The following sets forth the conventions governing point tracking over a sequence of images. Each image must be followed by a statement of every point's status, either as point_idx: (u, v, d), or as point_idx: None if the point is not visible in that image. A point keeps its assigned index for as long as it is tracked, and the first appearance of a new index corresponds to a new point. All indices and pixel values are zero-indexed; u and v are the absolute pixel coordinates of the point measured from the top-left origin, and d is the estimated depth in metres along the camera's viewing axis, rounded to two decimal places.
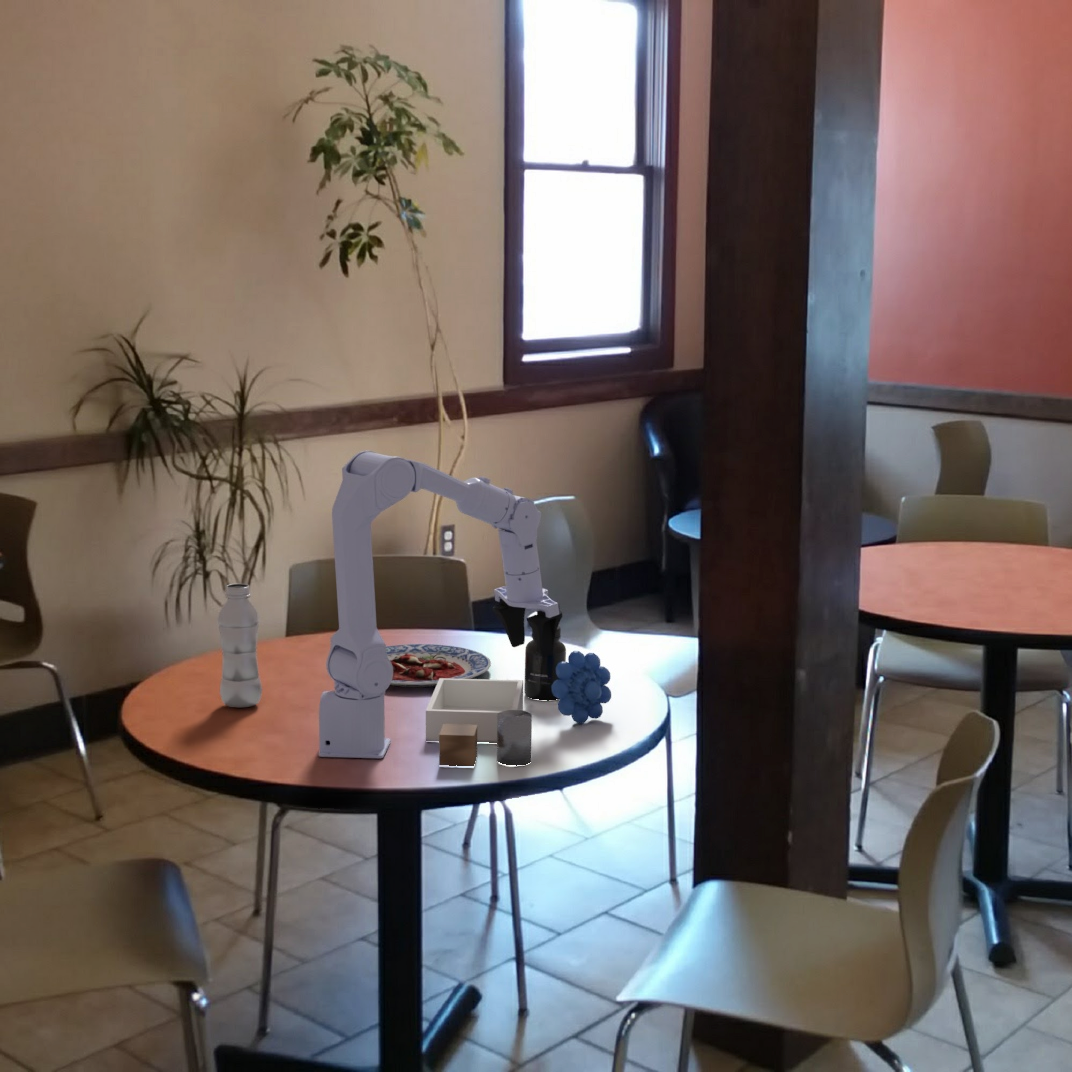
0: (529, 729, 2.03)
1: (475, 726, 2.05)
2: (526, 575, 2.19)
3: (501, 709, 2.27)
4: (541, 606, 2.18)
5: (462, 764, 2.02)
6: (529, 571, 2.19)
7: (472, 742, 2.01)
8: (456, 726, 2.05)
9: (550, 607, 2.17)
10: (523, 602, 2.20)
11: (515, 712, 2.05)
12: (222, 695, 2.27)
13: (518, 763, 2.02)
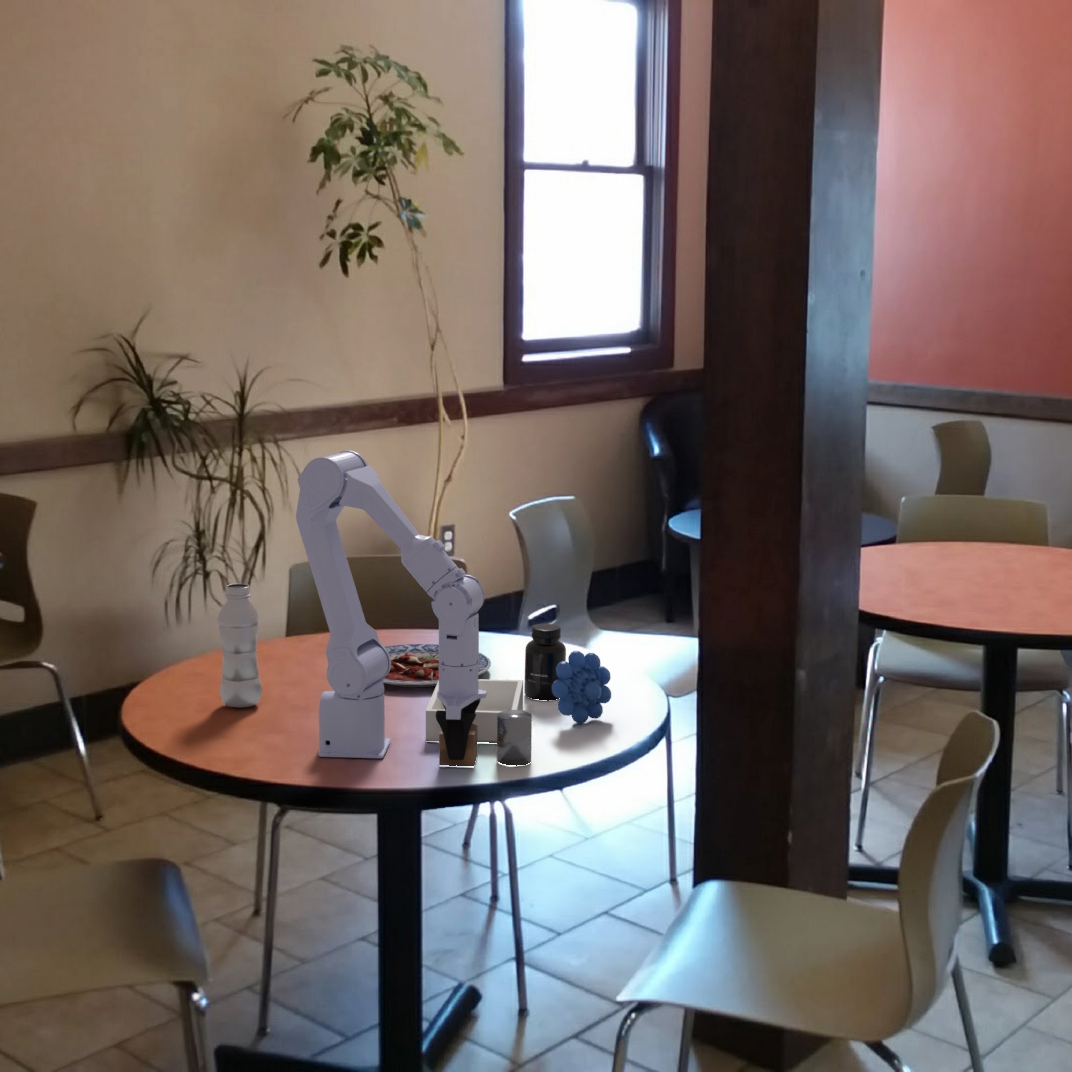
0: (529, 729, 2.03)
1: (475, 725, 2.05)
2: (449, 667, 1.99)
3: (501, 709, 2.27)
4: (445, 704, 1.97)
5: (462, 763, 2.02)
6: (448, 663, 1.99)
7: (472, 741, 2.01)
8: None
9: (449, 708, 1.95)
10: (442, 695, 2.00)
11: (515, 712, 2.05)
12: (222, 695, 2.27)
13: (518, 763, 2.02)
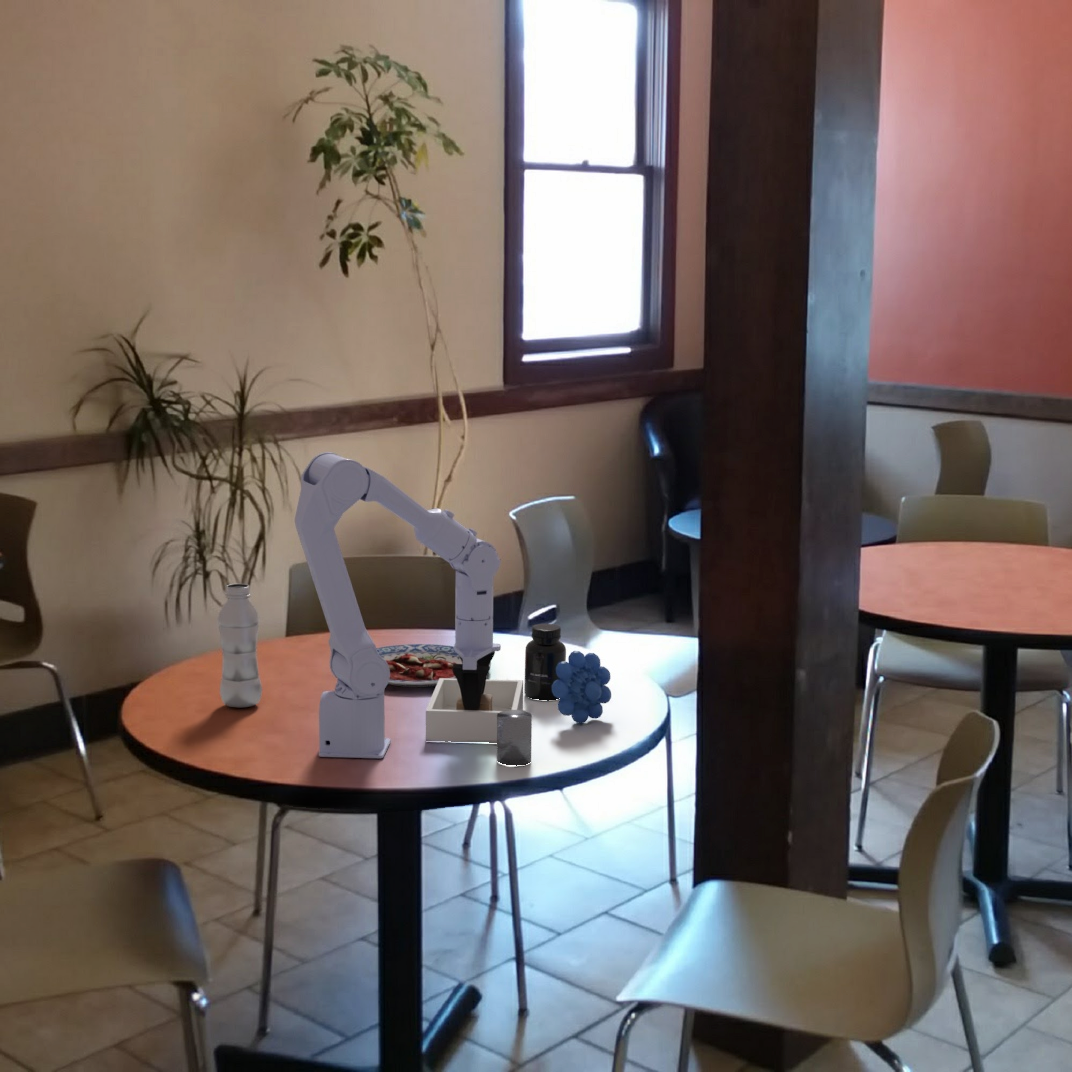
0: (529, 729, 2.03)
1: (490, 696, 2.17)
2: (465, 621, 2.11)
3: (501, 709, 2.27)
4: (462, 656, 2.09)
5: None
6: (478, 618, 2.11)
7: (487, 710, 2.14)
8: None
9: (466, 659, 2.07)
10: (458, 648, 2.12)
11: (515, 712, 2.05)
12: (222, 695, 2.27)
13: (518, 763, 2.02)
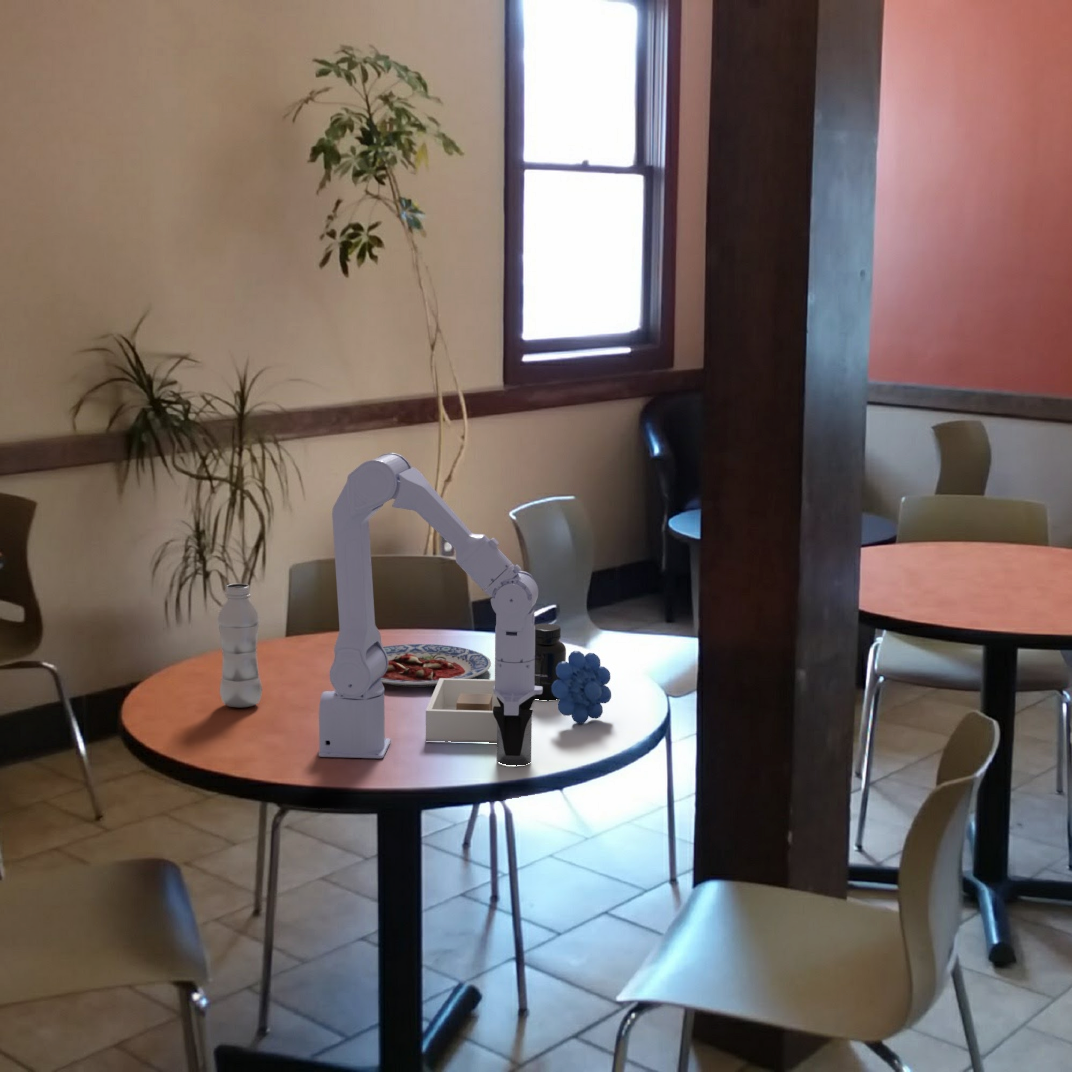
0: (529, 729, 2.03)
1: (490, 696, 2.17)
2: (506, 663, 2.00)
3: None
4: (503, 700, 1.97)
5: None
6: (507, 660, 1.99)
7: (487, 710, 2.14)
8: (472, 696, 2.17)
9: (507, 704, 1.96)
10: (499, 691, 2.01)
11: None
12: (222, 695, 2.27)
13: (518, 763, 2.02)
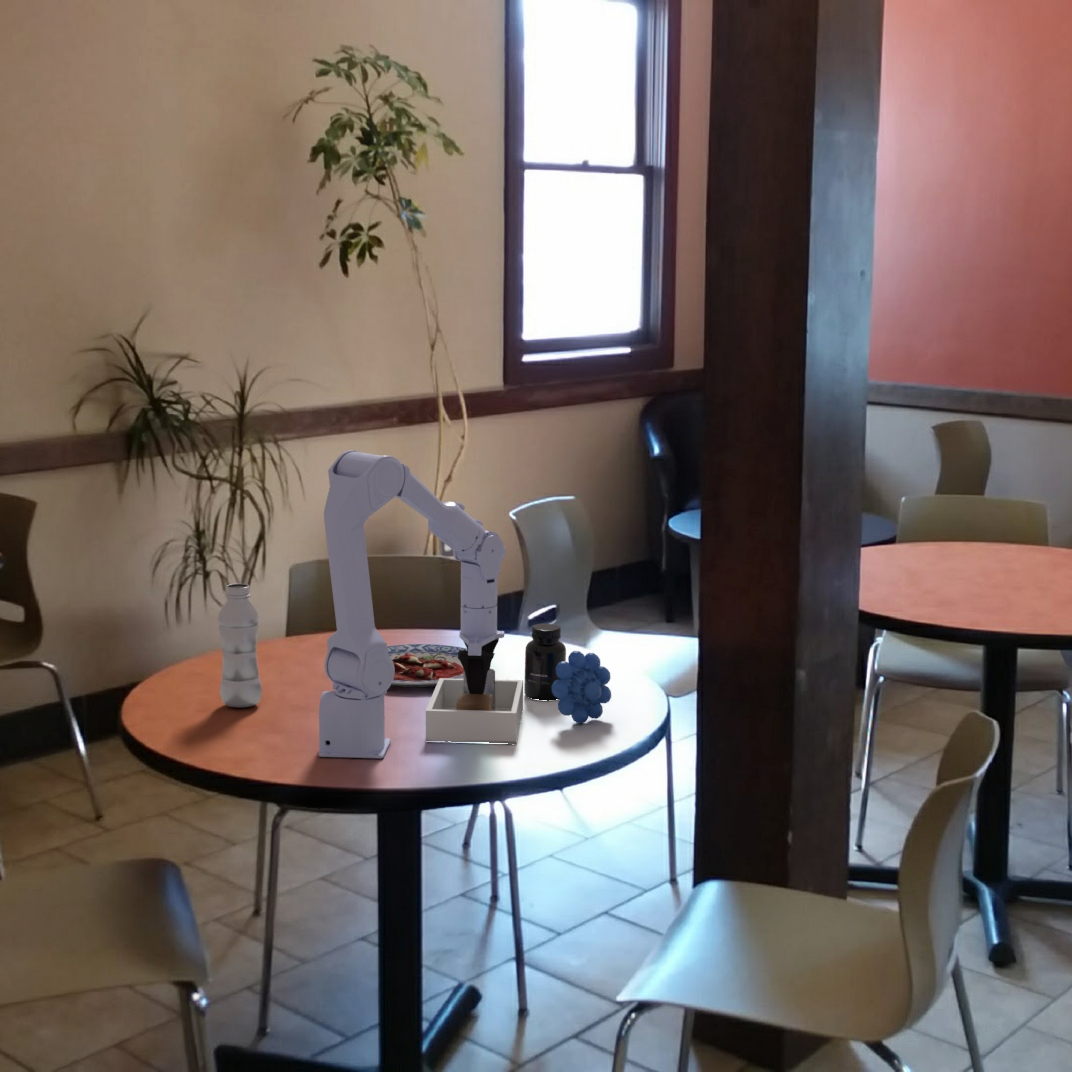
0: (492, 684, 2.23)
1: (490, 696, 2.17)
2: (470, 609, 2.19)
3: (501, 709, 2.27)
4: (467, 642, 2.17)
5: None
6: (488, 606, 2.19)
7: (487, 710, 2.14)
8: (472, 696, 2.17)
9: (471, 645, 2.15)
10: (464, 635, 2.20)
11: None
12: (222, 695, 2.27)
13: None
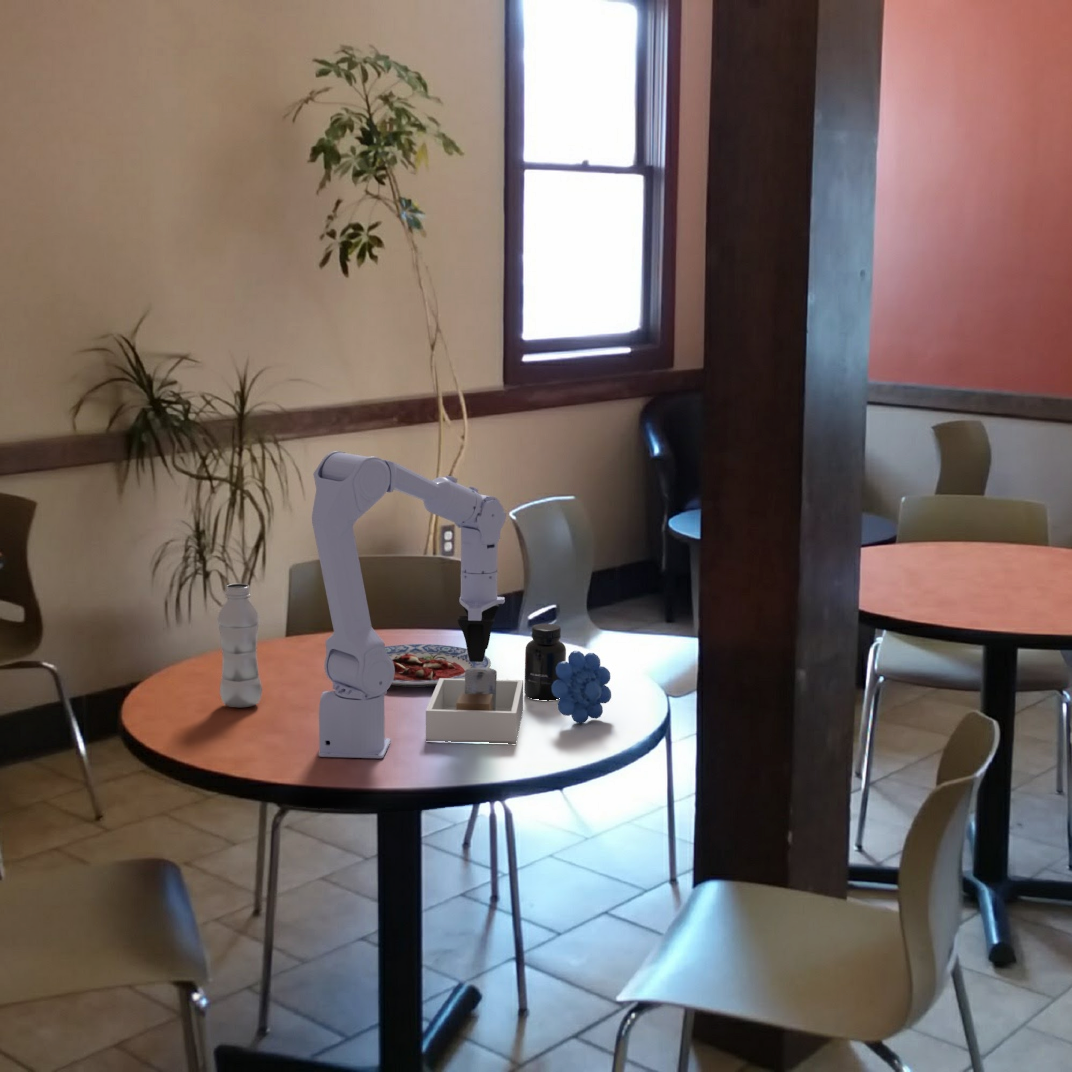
0: (494, 685, 2.23)
1: (490, 696, 2.17)
2: (470, 574, 2.18)
3: (501, 709, 2.27)
4: (467, 607, 2.16)
5: None
6: (488, 571, 2.18)
7: (487, 710, 2.14)
8: (472, 696, 2.17)
9: (471, 610, 2.14)
10: (464, 600, 2.19)
11: (482, 669, 2.25)
12: (222, 695, 2.27)
13: None
